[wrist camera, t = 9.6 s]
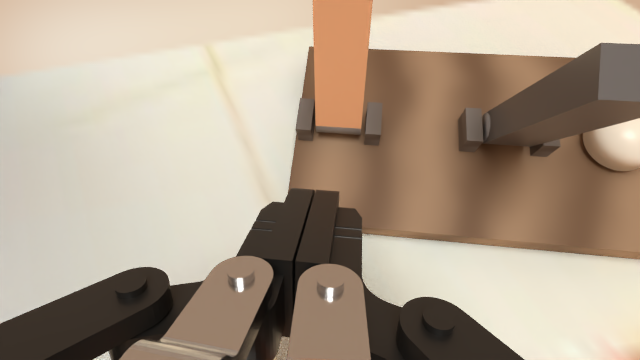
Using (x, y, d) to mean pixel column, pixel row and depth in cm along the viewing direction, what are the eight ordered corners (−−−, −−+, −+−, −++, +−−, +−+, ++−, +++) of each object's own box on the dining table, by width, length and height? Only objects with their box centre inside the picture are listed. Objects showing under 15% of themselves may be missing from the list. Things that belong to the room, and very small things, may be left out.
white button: (587, 168, 22) (610, 155, 20) (578, 114, 23) (599, 97, 21) (656, 173, 22) (685, 161, 20) (642, 117, 23) (669, 100, 21)
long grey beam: (477, 145, 23) (597, 99, 12) (479, 116, 23) (601, 42, 12) (524, 148, 23) (692, 104, 12) (525, 119, 23) (695, 46, 12)
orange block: (315, 137, 23) (311, -68, 15) (319, 121, 25) (317, -75, 17) (360, 140, 23) (378, -67, 15) (361, 123, 25) (378, -75, 17)
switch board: (288, 226, 24) (280, 213, 21) (311, 63, 29) (307, 31, 26) (658, 260, 22) (715, 252, 19) (617, 77, 27) (657, 44, 23)
